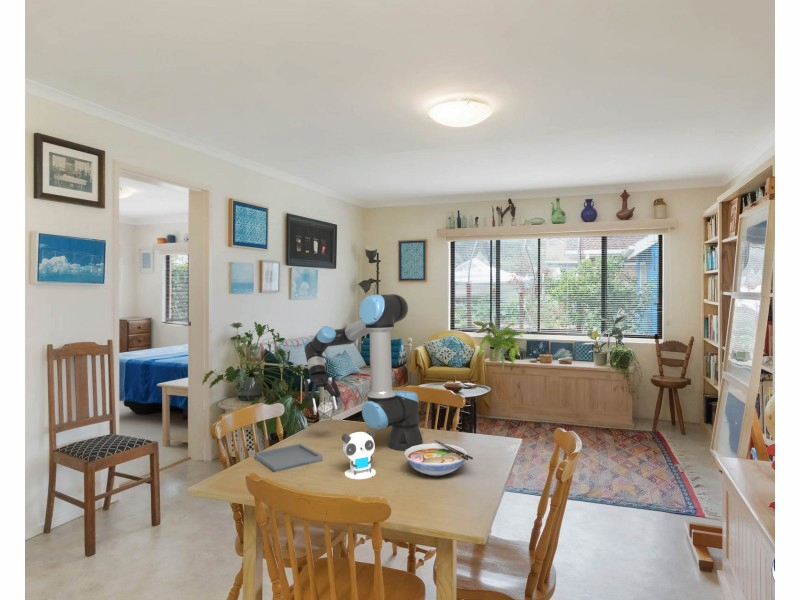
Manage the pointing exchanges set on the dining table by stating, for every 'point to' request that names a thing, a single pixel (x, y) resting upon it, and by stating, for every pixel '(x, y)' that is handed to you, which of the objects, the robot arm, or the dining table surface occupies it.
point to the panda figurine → (359, 454)
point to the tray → (288, 457)
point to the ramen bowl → (436, 458)
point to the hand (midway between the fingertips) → (325, 411)
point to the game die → (325, 409)
